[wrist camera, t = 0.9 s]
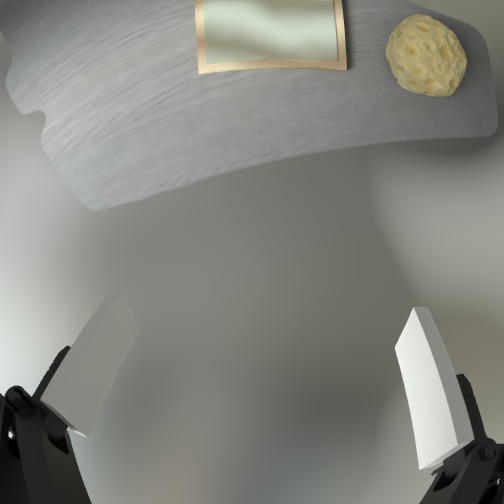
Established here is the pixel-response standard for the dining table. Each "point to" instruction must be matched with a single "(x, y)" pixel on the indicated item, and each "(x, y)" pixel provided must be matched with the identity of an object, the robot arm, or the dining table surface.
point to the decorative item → (426, 56)
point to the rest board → (269, 35)
